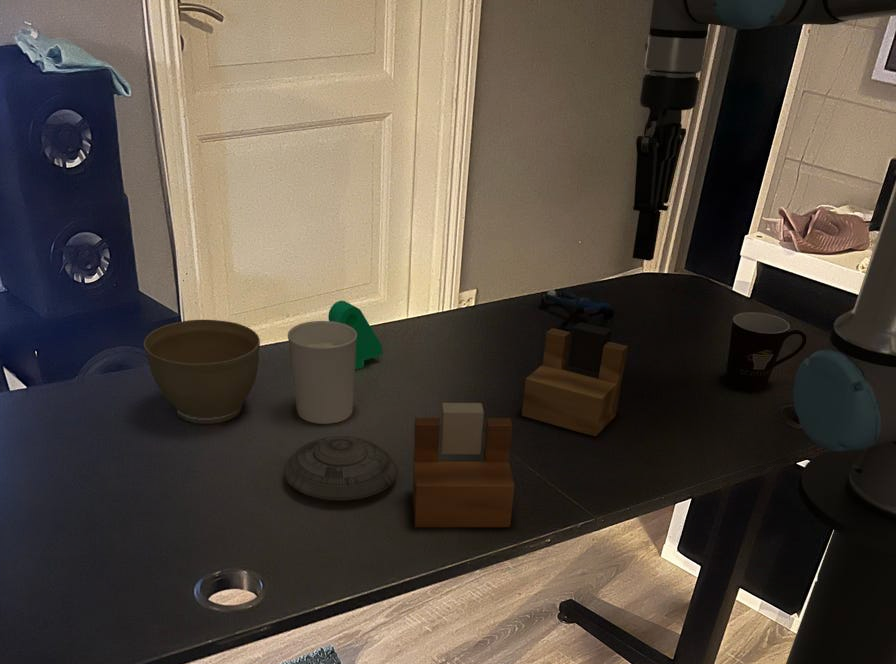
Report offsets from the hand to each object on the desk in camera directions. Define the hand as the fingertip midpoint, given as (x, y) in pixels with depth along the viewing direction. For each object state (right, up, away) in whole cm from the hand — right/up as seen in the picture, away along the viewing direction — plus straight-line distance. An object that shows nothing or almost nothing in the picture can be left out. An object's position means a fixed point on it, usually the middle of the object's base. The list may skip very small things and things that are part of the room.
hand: (642, 258), depth 143 cm
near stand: (-28, -40, -19) cm, 52 cm away
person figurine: (-4, +2, +33) cm, 33 cm away
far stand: (-10, -23, +3) cm, 25 cm away
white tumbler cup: (-47, -22, +2) cm, 52 cm away
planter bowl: (-64, -22, +1) cm, 68 cm away
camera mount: (-46, -11, +16) cm, 50 cm away
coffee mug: (+21, -15, +14) cm, 30 cm away
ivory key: (-28, -32, -19) cm, 46 cm away
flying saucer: (-44, -35, -13) cm, 58 cm away
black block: (-8, -15, +2) cm, 17 cm away
